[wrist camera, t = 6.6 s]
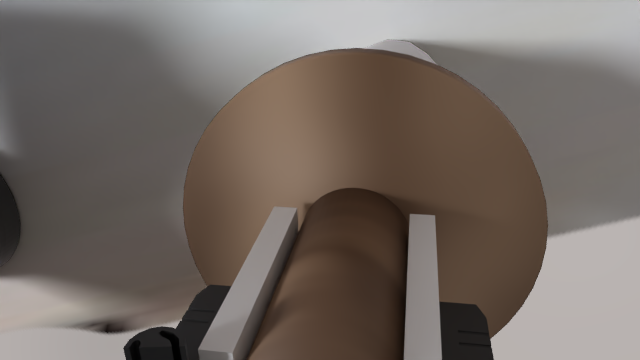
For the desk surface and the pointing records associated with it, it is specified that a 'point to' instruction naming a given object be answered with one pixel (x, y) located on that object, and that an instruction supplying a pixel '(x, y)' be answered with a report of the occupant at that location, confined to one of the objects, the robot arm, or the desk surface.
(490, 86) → the desk surface
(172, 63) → the desk surface
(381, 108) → the lid
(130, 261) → the desk surface
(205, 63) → the desk surface
